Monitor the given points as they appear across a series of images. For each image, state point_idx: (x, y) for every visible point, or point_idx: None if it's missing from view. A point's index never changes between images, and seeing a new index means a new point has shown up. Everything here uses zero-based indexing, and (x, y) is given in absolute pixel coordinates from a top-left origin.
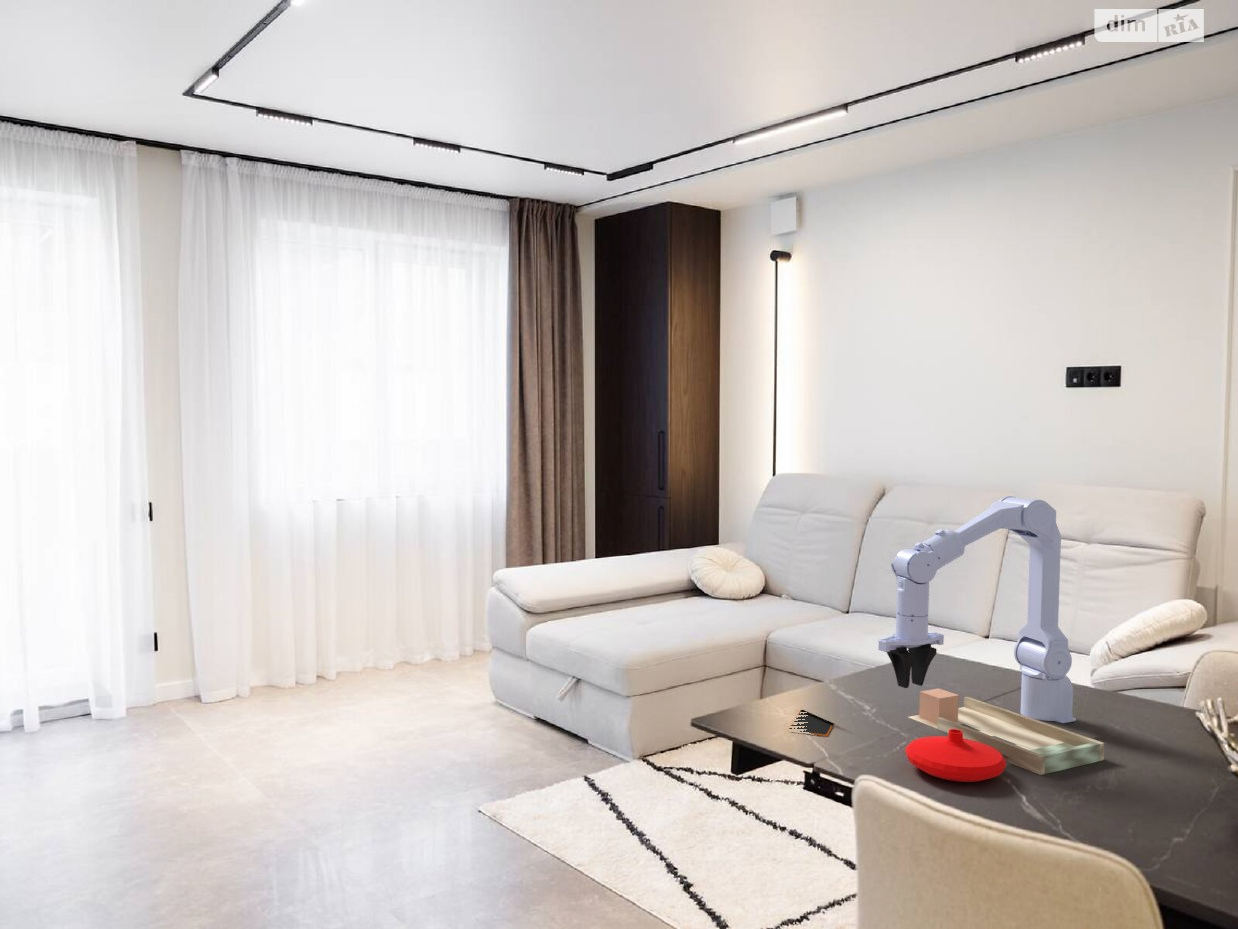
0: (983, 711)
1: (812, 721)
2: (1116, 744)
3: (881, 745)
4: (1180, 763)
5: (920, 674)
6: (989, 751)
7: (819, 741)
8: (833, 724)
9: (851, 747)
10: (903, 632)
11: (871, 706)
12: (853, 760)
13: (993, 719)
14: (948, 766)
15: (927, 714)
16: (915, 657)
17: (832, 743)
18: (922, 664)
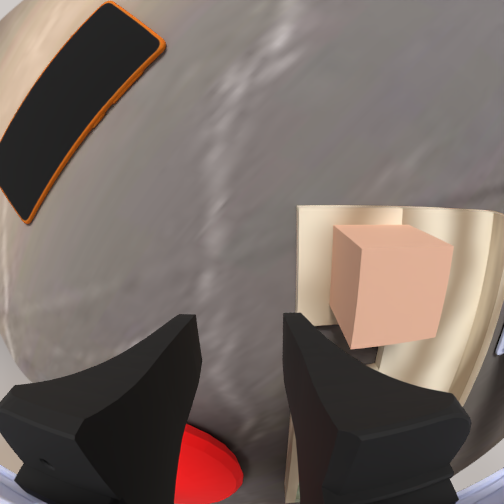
0: (488, 278)
1: (41, 123)
2: (481, 418)
3: (106, 320)
4: (456, 462)
5: (289, 397)
6: (203, 499)
7: (11, 242)
8: (71, 153)
9: (47, 299)
10: None
11: (300, 36)
12: (34, 346)
13: (467, 316)
14: None
15: (336, 266)
16: (310, 435)
17: (25, 263)
18: (299, 450)
